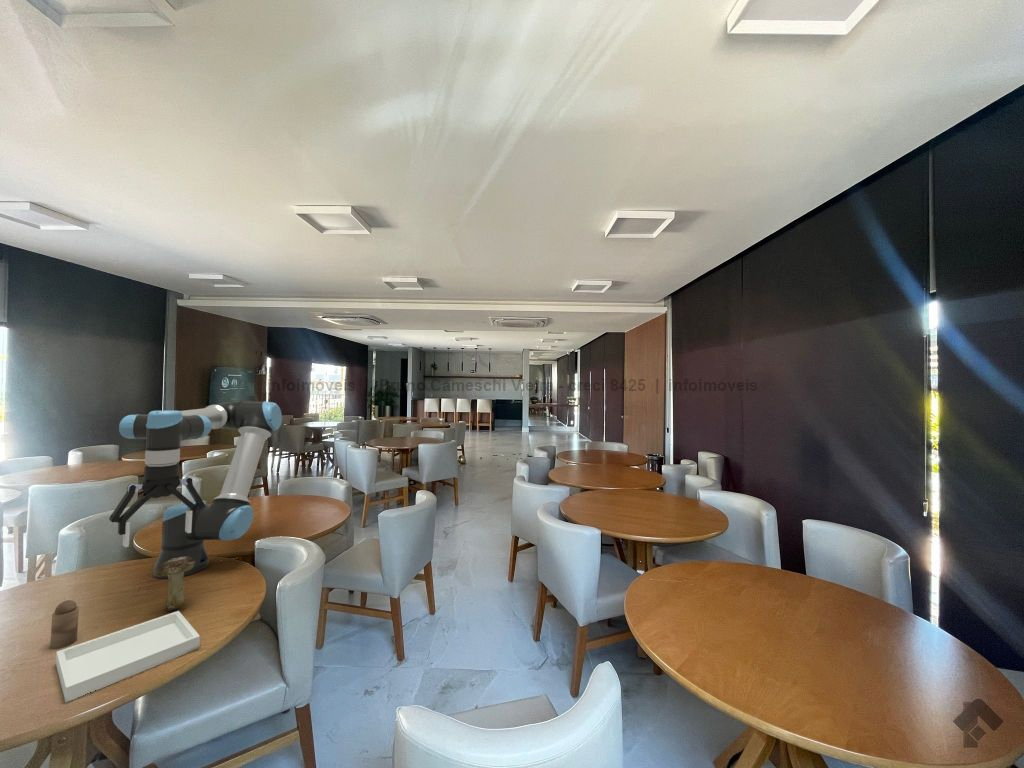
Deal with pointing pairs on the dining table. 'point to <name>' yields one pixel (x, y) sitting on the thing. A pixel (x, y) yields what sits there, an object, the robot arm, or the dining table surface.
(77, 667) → the tray
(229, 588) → the dining table surface
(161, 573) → the mushroom
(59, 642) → the pepper mill
